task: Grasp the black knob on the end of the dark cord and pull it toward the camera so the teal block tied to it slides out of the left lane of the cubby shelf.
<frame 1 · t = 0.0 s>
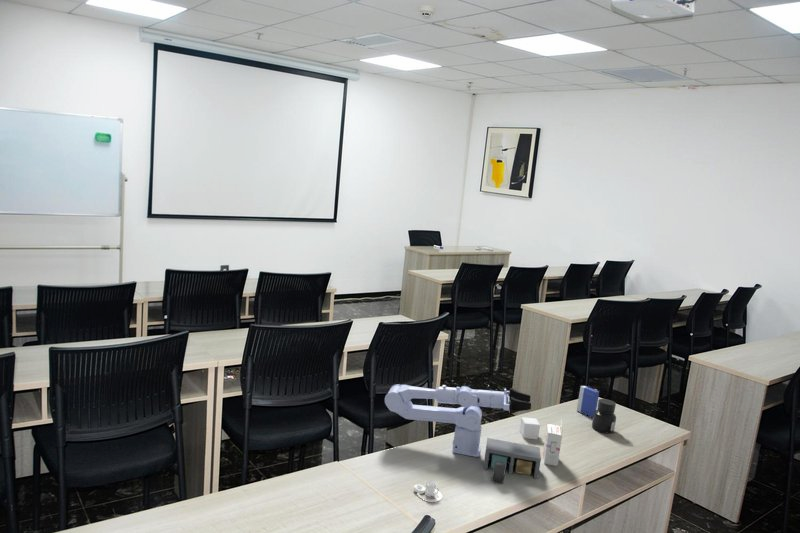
hand: (530, 402, 203), 22 cm above the table, tool horizontal, fingers open, 7 cm apart
ink cartridge box: (549, 460, 209), on the table
walkman: (585, 414, 259), on the table
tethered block: (498, 465, 201), on the table
ink bottle: (602, 429, 243), on the table
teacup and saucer: (428, 491, 180), on the table
white cube: (528, 435, 229), on the table
cubby shelf: (510, 467, 200), on the table
ochre block: (522, 470, 200), resting in cubby shelf
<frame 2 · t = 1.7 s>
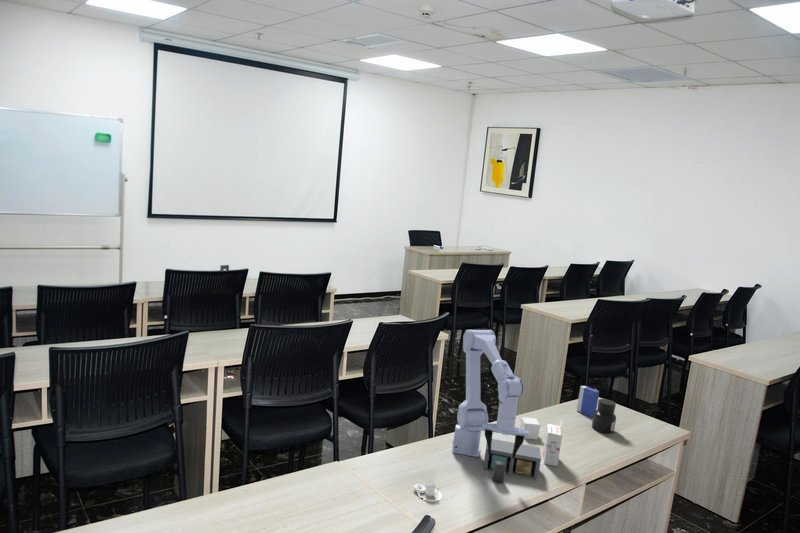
hand: (501, 454, 189), 9 cm above the table, tool pointing down, fingers open, 7 cm apart
nothing on the table moved.
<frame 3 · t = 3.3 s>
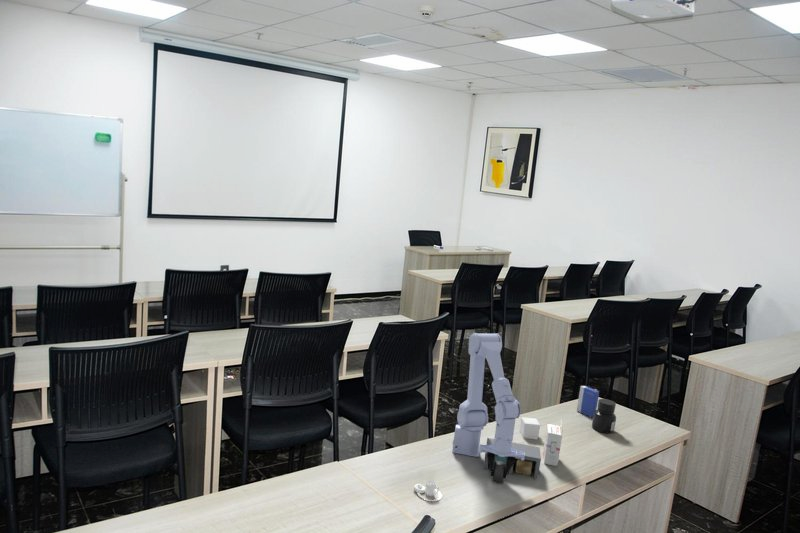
hand: (498, 476, 190), 2 cm above the table, tool pointing down, fingers closed on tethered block, 4 cm apart
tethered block: (498, 465, 201), on the table, touching gripper
everything else where it was.
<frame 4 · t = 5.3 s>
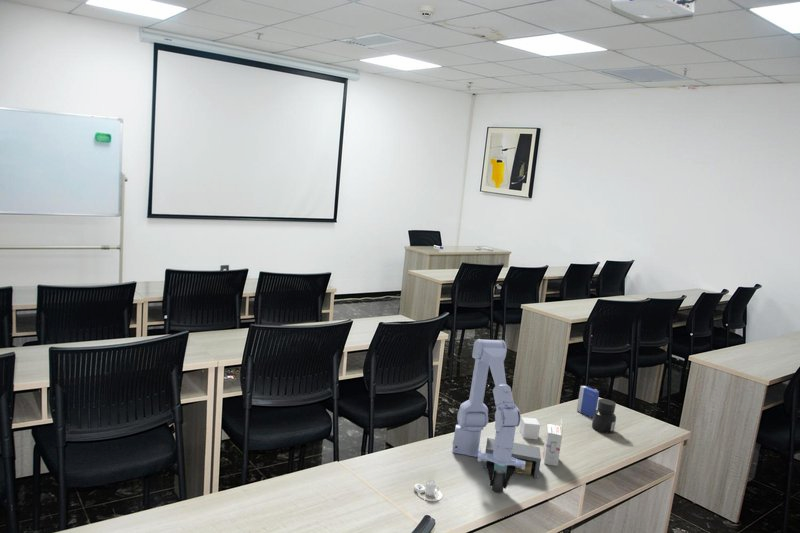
hand: (497, 485, 183), 2 cm above the table, tool pointing down, fingers closed on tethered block, 4 cm apart
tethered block: (499, 473, 195), on the table, touching gripper
everything else where it was.
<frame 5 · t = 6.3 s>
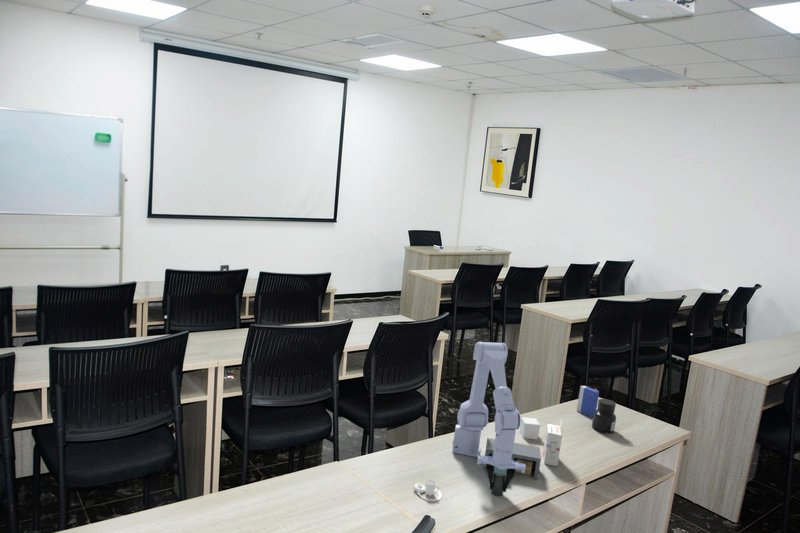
hand: (497, 489, 181), 2 cm above the table, tool pointing down, fingers closed on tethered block, 4 cm apart
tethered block: (499, 476, 193), on the table, touching gripper
everything else where it was.
when the fingers open (2 cm above the table, at t = 7.0 s): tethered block stays where it is, on the table.
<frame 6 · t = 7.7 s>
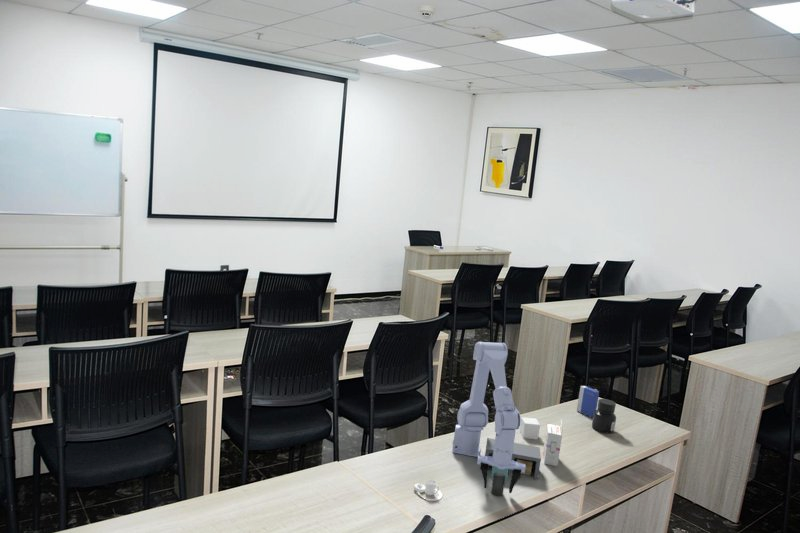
hand: (497, 489, 181), 2 cm above the table, tool pointing down, fingers open, 7 cm apart
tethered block: (499, 476, 193), on the table
everything else where it was.
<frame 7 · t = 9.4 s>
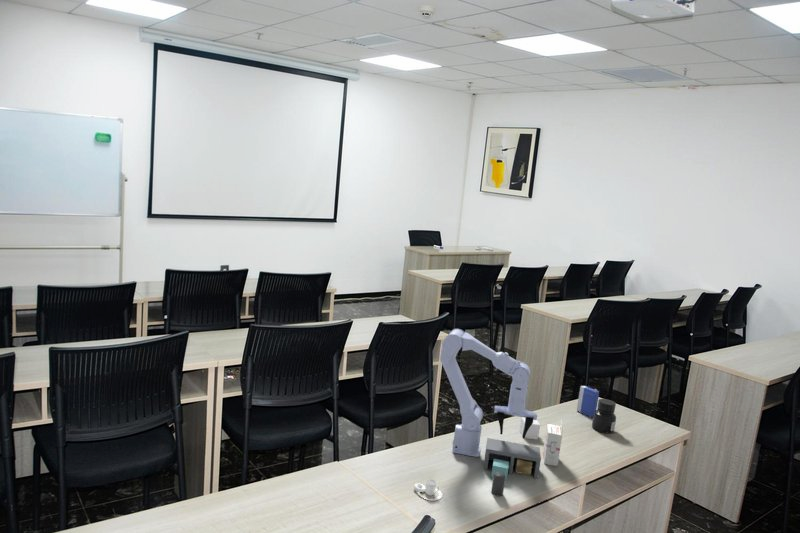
hand: (512, 435, 204), 9 cm above the table, tool pointing down, fingers open, 7 cm apart
nothing on the table moved.
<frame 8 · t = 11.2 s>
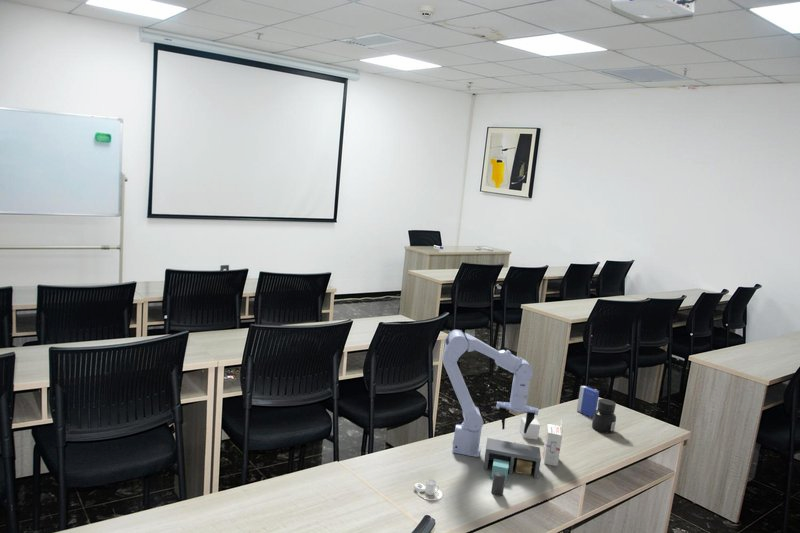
hand: (514, 430, 208), 9 cm above the table, tool pointing down, fingers open, 7 cm apart
nothing on the table moved.
at the end: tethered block inside the target area (2.8 cm from its centre), on the table; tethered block tilted 0°; the gripper is holding nothing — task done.
